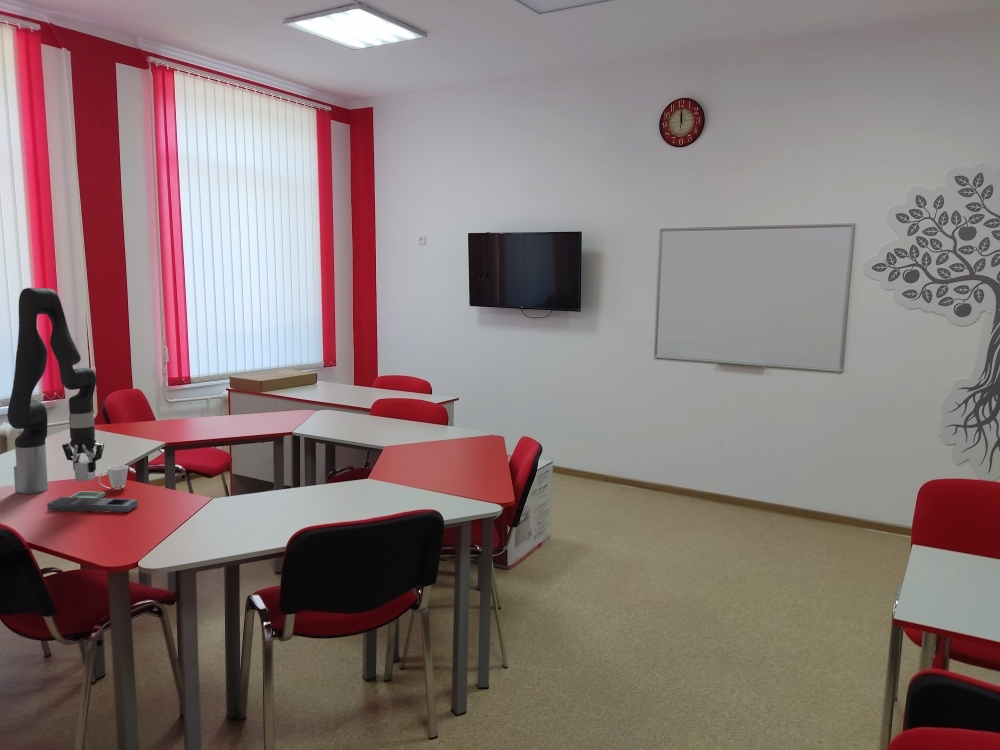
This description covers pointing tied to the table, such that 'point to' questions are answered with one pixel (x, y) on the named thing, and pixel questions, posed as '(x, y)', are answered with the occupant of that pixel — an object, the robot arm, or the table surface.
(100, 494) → the tray
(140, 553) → the table surface
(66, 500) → the dark grey organizer
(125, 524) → the table surface
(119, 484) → the cup
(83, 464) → the light grey block
